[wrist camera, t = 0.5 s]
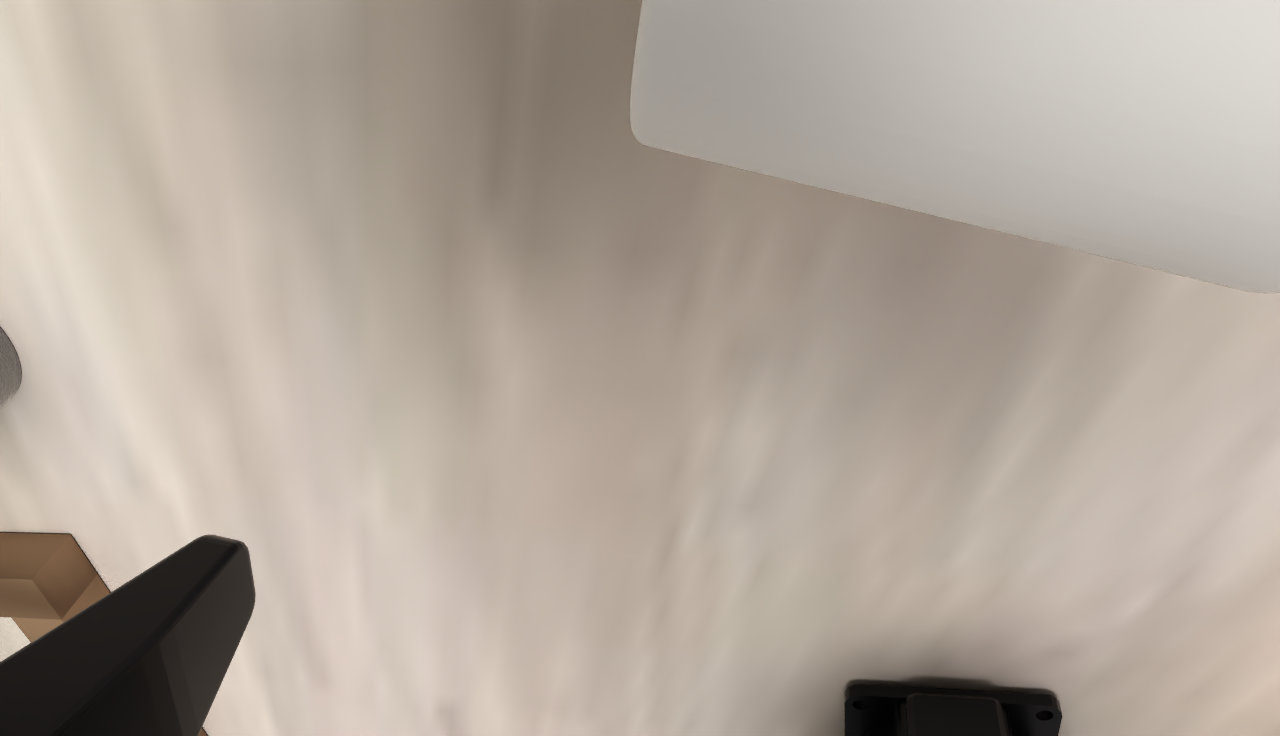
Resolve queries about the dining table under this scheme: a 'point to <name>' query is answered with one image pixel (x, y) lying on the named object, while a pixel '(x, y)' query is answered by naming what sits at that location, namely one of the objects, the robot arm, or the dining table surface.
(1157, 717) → the dining table surface
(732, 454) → the dining table surface
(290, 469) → the dining table surface
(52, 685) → the robot arm
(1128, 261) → the mug
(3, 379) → the grey brushed cylinder
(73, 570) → the holder
